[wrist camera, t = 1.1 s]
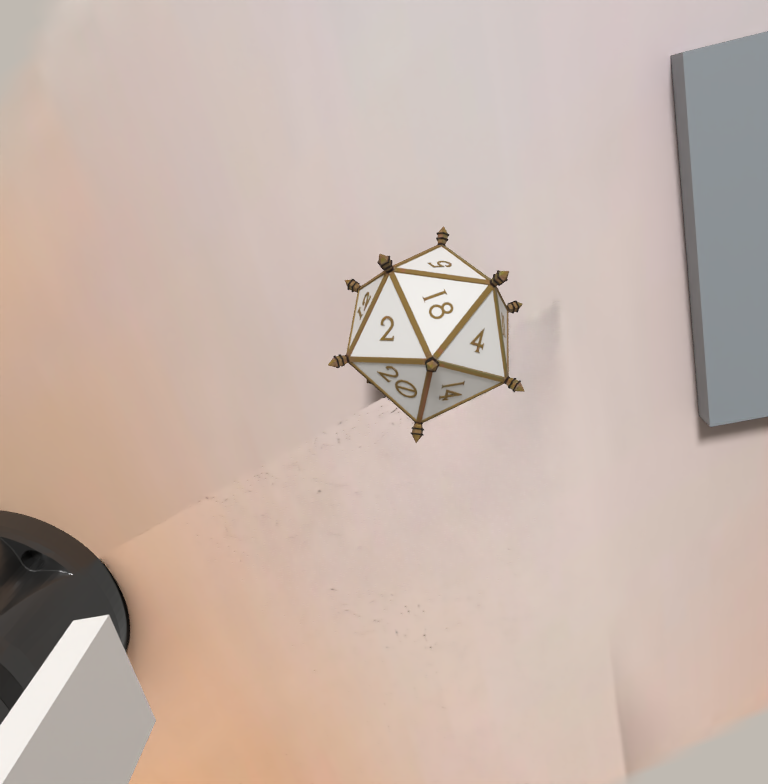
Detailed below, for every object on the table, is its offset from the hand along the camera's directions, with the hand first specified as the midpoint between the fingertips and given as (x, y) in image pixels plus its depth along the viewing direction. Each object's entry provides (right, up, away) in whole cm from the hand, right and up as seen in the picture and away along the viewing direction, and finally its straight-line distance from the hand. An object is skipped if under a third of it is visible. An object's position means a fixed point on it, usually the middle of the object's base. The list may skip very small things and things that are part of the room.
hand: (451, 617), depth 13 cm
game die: (+1, +9, +23) cm, 25 cm away
